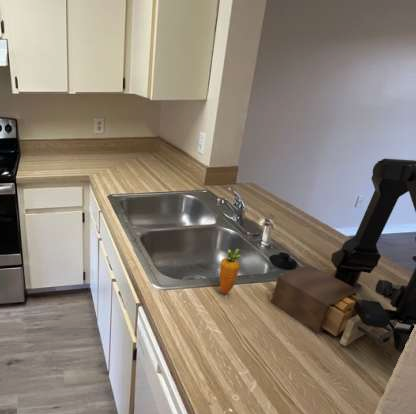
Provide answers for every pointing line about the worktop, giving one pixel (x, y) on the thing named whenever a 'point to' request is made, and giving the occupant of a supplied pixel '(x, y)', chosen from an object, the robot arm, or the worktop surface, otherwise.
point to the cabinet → (309, 295)
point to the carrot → (229, 271)
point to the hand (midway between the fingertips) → (397, 349)
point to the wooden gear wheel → (345, 307)
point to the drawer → (351, 326)
